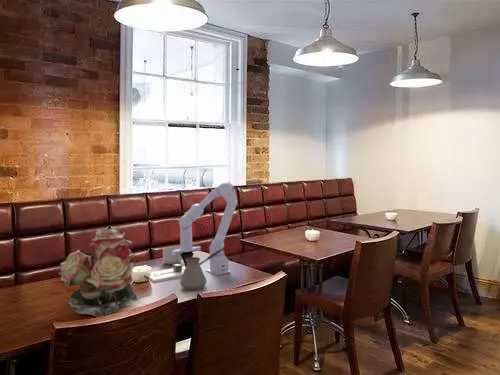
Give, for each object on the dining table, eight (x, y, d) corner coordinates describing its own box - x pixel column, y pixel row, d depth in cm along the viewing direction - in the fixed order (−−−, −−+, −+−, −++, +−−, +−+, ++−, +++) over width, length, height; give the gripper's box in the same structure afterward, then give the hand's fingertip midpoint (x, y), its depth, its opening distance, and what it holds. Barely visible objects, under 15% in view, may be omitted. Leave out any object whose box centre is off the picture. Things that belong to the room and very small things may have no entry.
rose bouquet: (53, 306, 159) (49, 229, 156) (123, 287, 179) (120, 219, 176) (81, 325, 141) (77, 239, 138) (155, 302, 161) (152, 227, 158)
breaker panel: (197, 273, 198) (197, 271, 198) (153, 282, 185) (153, 279, 185) (186, 267, 208) (186, 265, 207) (144, 276, 195) (144, 273, 195)
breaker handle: (181, 270, 198) (181, 265, 198) (176, 271, 196) (175, 266, 196) (179, 269, 200) (179, 263, 200) (173, 270, 199) (173, 264, 198)
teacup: (160, 261, 220) (160, 247, 219) (180, 259, 224) (180, 244, 224) (167, 268, 207) (166, 252, 206) (187, 265, 212) (187, 250, 211)
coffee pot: (188, 294, 169) (187, 259, 168) (175, 287, 179) (174, 253, 177) (230, 284, 182) (230, 250, 181) (217, 277, 191) (216, 246, 190)
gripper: (195, 236, 207) (196, 262, 209) (169, 240, 199) (169, 267, 200) (202, 238, 202) (203, 266, 203) (175, 243, 193) (176, 271, 195)
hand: (187, 267), depth 201 cm, fingers closed
